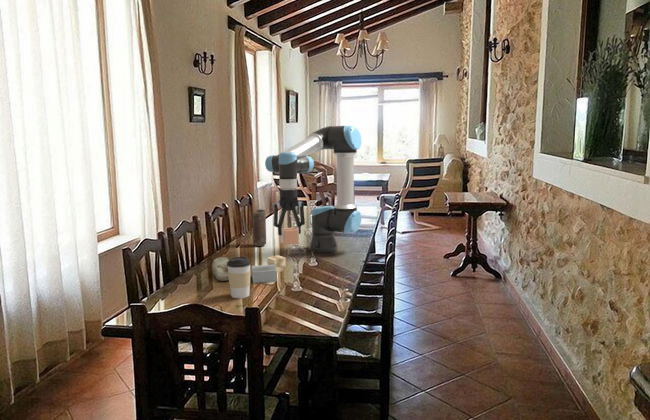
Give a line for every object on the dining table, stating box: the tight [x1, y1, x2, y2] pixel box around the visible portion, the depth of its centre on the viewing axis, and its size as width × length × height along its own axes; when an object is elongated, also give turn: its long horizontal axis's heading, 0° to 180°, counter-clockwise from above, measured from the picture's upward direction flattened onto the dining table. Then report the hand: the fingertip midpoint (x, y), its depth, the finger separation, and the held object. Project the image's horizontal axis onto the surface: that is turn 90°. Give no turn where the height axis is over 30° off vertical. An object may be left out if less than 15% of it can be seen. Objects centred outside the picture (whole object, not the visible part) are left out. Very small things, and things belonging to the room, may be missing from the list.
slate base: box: [251, 264, 278, 284], centre depth 210 cm, size 10×10×5 cm
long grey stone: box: [211, 256, 230, 282], centre depth 224 cm, size 35×5×10 cm
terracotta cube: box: [282, 227, 299, 246], centre depth 211 cm, size 6×6×6 cm
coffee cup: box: [227, 256, 252, 299], centre depth 189 cm, size 9×9×15 cm
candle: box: [252, 209, 267, 247], centre depth 270 cm, size 8×7×20 cm
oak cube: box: [266, 255, 287, 273], centre depth 223 cm, size 6×6×6 cm
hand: (289, 241), depth 212 cm, fingers closed on terracotta cube, 6 cm apart
